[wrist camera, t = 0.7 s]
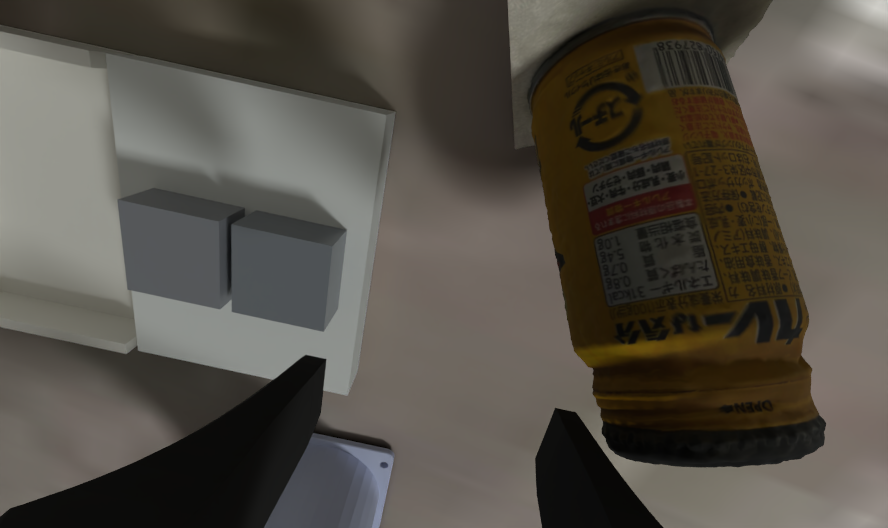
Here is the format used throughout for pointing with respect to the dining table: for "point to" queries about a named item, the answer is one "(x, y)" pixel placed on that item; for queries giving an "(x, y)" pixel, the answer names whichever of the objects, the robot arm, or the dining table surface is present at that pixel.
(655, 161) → the condiment
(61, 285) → the tray
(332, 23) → the dining table surface
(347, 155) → the board
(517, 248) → the dining table surface
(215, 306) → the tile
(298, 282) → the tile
